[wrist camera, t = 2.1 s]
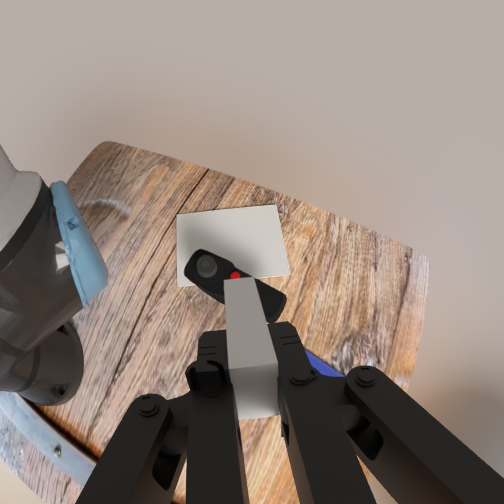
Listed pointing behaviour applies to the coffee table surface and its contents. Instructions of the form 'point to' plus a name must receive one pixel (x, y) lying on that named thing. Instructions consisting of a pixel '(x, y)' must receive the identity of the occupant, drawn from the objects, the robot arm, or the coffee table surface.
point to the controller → (219, 269)
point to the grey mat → (234, 240)
